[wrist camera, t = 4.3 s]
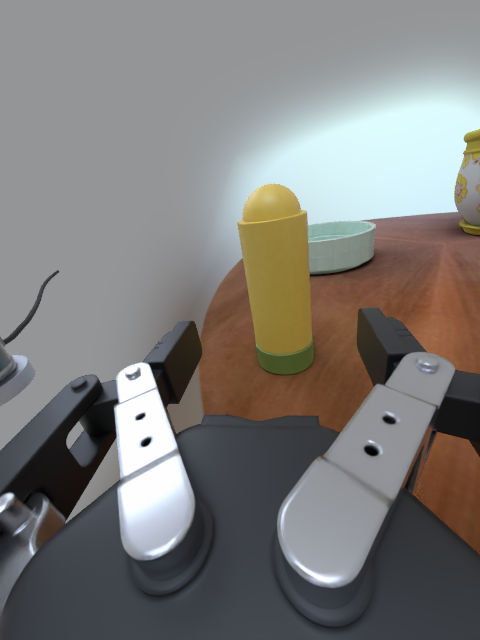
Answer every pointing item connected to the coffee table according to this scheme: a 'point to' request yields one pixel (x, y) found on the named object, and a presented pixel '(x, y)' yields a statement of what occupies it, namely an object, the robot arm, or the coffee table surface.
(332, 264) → the basin
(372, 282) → the coffee table surface
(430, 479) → the coffee table surface
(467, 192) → the flowerpot
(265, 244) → the corn cob
